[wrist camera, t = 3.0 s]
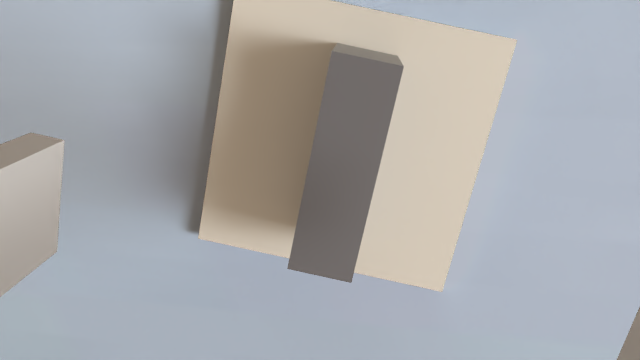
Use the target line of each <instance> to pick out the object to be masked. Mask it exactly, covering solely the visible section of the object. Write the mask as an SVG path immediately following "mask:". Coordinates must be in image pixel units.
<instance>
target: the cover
mask: <svg viewBox="0 0 640 360" xmlns="http://www.w3.org/2000/svg"><path fill="white" fill-rule="evenodd" d="M516 42H517V40H515V39H511V38H506V37H501V36H497V35H492V34H487V33H482V32H478V31H473V30H468V29H464V28H459V27H454V26H449V25H445V24H440V23H435V22H431V21H426V20H421V19H416V18H412V17H407V16H402V15H397V14H393V13H388V12H383V11H379V10H374V9H369V8H364V7H360V6H355V5H350V4H346V3H341V2H336V1H331V0H234V1H233V8H232V15H231V21H230V28H229V35H228V42H227V48H226V55H225V62H224V68H223V75H222V82H221V89H220V95H219V102H218V109H217V116H216V122H215V129H214V136H213V142H212V149H211V156H210V163H209V169H208V176H207V183H206V190H205V196H204V203H203V210H202V216H201V223H200V230H199V237H198V239H203V240H208V241H212V242H217V243H221V244H226V245H230V246H235V247H240V248H244V249H249V250H253V251H258V252H262V253H267V254H272V255H276V256H281V257H285V258H289V263H288V268H287V269H291V270H296V271H300V272H305V273H309V274H314V275H318V276H323V277H328V278H332V279H337V280H341V281H346V282H350V283H351V282H352V278H353V274H354V273H358V274H363V275H368V276H372V277H377V278H381V279H386V280H390V281H395V282H400V283H404V284H409V285H413V286H418V287H422V288H427V289H431V290H436V291H441V292H442V290H443V287H444V284H445V280H446V277H447V274H448V270H449V267H450V264H451V260H452V257H453V254H454V250H455V247H456V244H457V240H458V237H459V233H460V230H461V227H462V223H463V220H464V217H465V213H466V210H467V207H468V203H469V200H470V197H471V193H472V190H473V187H474V183H475V180H476V176H477V173H478V170H479V166H480V163H481V160H482V156H483V153H484V150H485V146H486V143H487V140H488V136H489V133H490V130H491V126H492V123H493V119H494V116H495V113H496V109H497V106H498V103H499V99H500V96H501V93H502V89H503V86H504V83H505V79H506V76H507V73H508V69H509V66H510V63H511V59H512V56H513V52H514V49H515V46H516Z"/></svg>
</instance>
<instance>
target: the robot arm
mask: <svg viewBox="0 0 640 360" xmlns="http://www.w3.org/2000/svg"><path fill="white" fill-rule="evenodd" d="M63 153H64V140H62V139H57V138H53V137H48V136H44V135H40V134H35V133H28V134H26V135H23V136H21V137H18V138H16V139H13V140H10V141H8V142H5V143H3V144H0V297H1V296H2V295H3V294H5V293H6V292H7V291H8V290H10V289H11V288H12V287H13V286H15V285H16V284H17V283H18V282H20V281H21V280H22V279H23V278H25V277H26V276H27V275H28V274H30V273H31V272H32V271H33V270H35V269H36V268H37V267H38V266H40V265H41V264H42V263H43V262H45V261H46V260H47V259H49V258H50V257H51V256H52V255H54V254H55V253H56V252H57V243H58V228H59V213H60V198H61V183H62V168H63ZM617 360H640V307H639V310H638V312H637V314H636V317H635V319H634V321H633V324H632V326H631V328H630V331H629V333H628V335H627V338H626V340H625V342H624V344H623V347H622V349H621V351H620V354H619V356H618V358H617Z"/></svg>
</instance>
